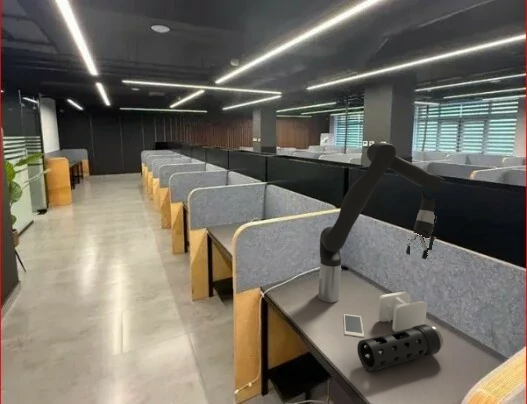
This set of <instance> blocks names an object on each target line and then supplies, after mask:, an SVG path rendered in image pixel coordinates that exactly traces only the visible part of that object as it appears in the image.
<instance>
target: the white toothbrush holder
mask: <svg viewBox="0 0 527 404" xmlns="http://www.w3.org/2000/svg"><path fill="white" fill-rule="evenodd" d="M427 311H428V303H426V302H425V301H423V300H418V301H412V294H411V293H410V292H408V291H406V290H405V291H398V292H392V293H386V294H381V295H380V296H379V297H378V298H377V308H376V319H377V320H379V322H384V323H385V322H387V323H391V321H392V327H391V328H392V331H394V332H397V331H401V330H405V329H410V328H412V327H414V326H418V325H422V324H426V317H427Z"/></svg>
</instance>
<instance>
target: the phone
mask: <svg viewBox="0 0 527 404" xmlns="http://www.w3.org/2000/svg"><path fill="white" fill-rule="evenodd" d="M343 328H344V333H343V334H344V336H349V337H358V338H364V339H365V334H364V326H363V321H362V316H361V315H357V314H356V315H354V314H346V313H343Z"/></svg>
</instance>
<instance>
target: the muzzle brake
mask: <svg viewBox="0 0 527 404" xmlns="http://www.w3.org/2000/svg"><path fill="white" fill-rule="evenodd" d="M443 346H444V338H443V336H442V333H441V332H440V330H438V329H437V328H436V327H435V326H433V325H430V324H426V323H425V324H422V325H418V326H414V327H412V328H410V329H405V330H401V331H397V332H395V331H394V332H389V333H385V334H382V335H378V336H373V337H369V338H364V339H361V340H359V341H358V343H357V348H356V349H357V356H358V358H359V361H360V363H361V364H362V366H363V367H364V369H365V370H366V371H367V372H373V371H377V370H381V369H384V368H387V367H391V366H395V365H399V364H402V363H405V362H408V361H412V360H415V359H420V358H422V357H429V356H432V355H436V354H438V353H440V351H441V350H442V349H443ZM380 352H381V353H380ZM366 355H368V356H366Z"/></svg>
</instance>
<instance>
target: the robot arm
mask: <svg viewBox="0 0 527 404" xmlns="http://www.w3.org/2000/svg"><path fill="white" fill-rule="evenodd" d="M366 156H367V159H368V160H369V161H370V164H369V166H368V168H367V169H366V170H365V172H364V173H363V174H362V175H361V176H360V177H358V178H357V180H355V182H353V183H352V185H351V186H349V189H348V190H347V192H346V193H345V196H344V197H343V200H342V203H341V206H340V208H339V209H340V211H339V213H338V217H337V220H336V221H335V223H334V224H333V226H328V227H325V228H324V229H323V230H322V232H321V234H320V238H319V257H320V259H319V260H320V263H319V278H318V294H317V296H318V297H317V299H318V300H320V301H323V302H325V303H336V302H338V301H339V299H340V283H341V282H340V281H341V269H342V267H341V266H342V256H341V249H343V247H344V245H345V243H346V241H347V239H348V236H349V234H350V232H351V230H352V228H353V226H354V224H355V223H356V221H357V219H358V218H359V216H360V214H361V213H362V211H363V210H364V208H365V207H366V205H367V203H368V201H369V200H370V198H371V196H372V194H373V192H374V190H375V189H376V188H377V186H378V184H379V183H380V181H381V179H382V178H383V176H384V175H385V173H386V172H387V171H388V169H390V170H391V171H393V172H394V173H396V174H398V175H399V176H401V177H402V178H405V180H407V181H409V182H411V183H413V184H414V185H416V186H419V187H422V186H424V187H427V188H429V189H430V190H433V191H434V192H438V190H439V188H440V181H442V180H445V179H444V177H441V176H439V175H436V174H433V173H431V172H428V171H426V170H425V169H423V168H422V167H420V166H419V165H416V164H414V163H413V162H410V161H407V160H405V159H403V158H402V157H399V156H397V149H396V147H395V146H394V145H393V144H391V143H387V142H374V143H371V144H370V145H369V146H368V148H367V150H366ZM434 199H435V198H434ZM434 199H431V198H428V197H426V196H425V194H424V191H423V189H422V188H421V204H420V207H419V210H418V213H417V216H416V220H415V224H414V226H413V229H414V232H413V233H417V234H419V235H420V236H419V237H420V240H421V243H422V244H421V243H420V244H421V245H422V247H423V249H424V250H422V251H423V252H422V254H421V259H422V260H427V259H428V258H427V256H428V257H429V255H427V254H428V253H427V252H428V250H432V245H433V241H434V240H435V239H437V240H438V237H436V236H434V235H432V234H433V233H432V232H434V229H433V227H434V228H435V225H434V219H435V215H434V212H435V211H434V208H435V201H434ZM421 235H422V236H421ZM417 236H418V235H415V236H414V239H411V240H410V241H411V243H412V242H413V241H414V240H415V239H416V237H417ZM423 237H425V238H430V239H429V248H427V246H426V243H425V241H424V238H423ZM411 243H409V244H406V245H407V246H406V247H407V248H406V250H405V252H406V254H407V255H409V256H410V246H409V245H410V244H411ZM420 244H419V245H420ZM426 258H427V259H426Z"/></svg>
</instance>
